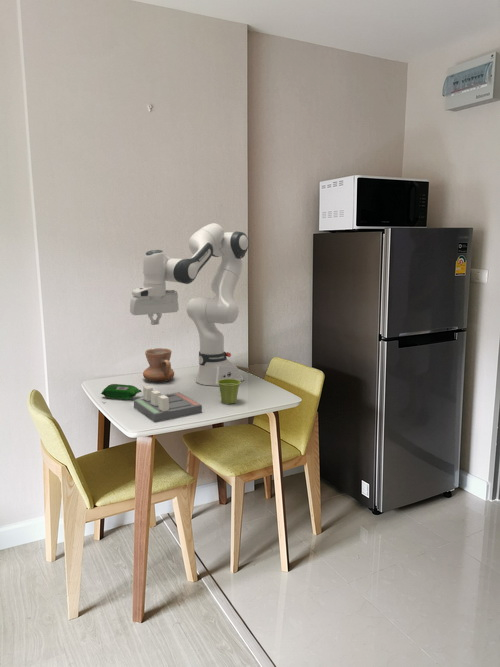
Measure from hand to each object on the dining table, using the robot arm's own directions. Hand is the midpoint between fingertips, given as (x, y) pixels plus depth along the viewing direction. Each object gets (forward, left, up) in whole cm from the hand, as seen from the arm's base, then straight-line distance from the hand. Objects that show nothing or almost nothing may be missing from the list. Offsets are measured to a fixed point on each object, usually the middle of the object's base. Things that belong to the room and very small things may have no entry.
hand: (155, 324), depth 217 cm
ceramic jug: (-12, -22, -31) cm, 40 cm away
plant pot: (-23, +21, -31) cm, 44 cm away
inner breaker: (+8, +10, -28) cm, 31 cm away
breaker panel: (+3, +17, -31) cm, 36 cm away
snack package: (+12, -7, -32) cm, 35 cm away
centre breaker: (+8, +17, -28) cm, 34 cm away
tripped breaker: (+8, +24, -28) cm, 38 cm away
